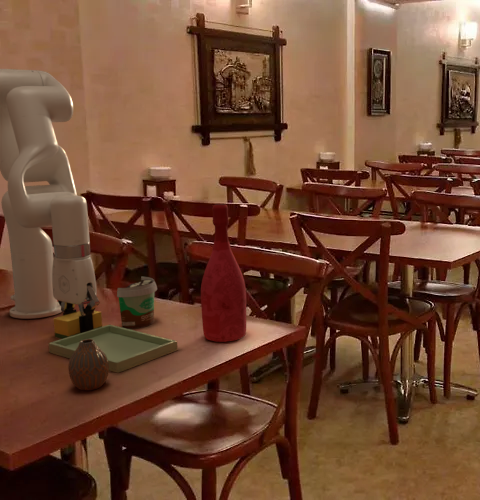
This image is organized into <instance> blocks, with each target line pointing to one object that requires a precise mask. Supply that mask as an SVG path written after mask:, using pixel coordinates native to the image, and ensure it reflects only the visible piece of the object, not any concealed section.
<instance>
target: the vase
mask: <svg viewBox="0 0 480 500" xmlns="http://www.w3.org/2000/svg"><path fill="white" fill-rule="evenodd" d="M109 372H110V370H109V363H108V359H107V357H106V355H105V353H104V352H103V351H102V350H101V349H100V348H99V347H98V346H97V345H96V343H95V342H94V340H93V339H84V340H81V341H80V343H79V345H78V347H77V349H76V350H75V351H74V353H73V354H72V356H71V358H70V359H69V362H68V375H69V379H70V381H71V383H72V384H73V386H74V387H76V388H77V389H79V390H80V391H92V390H97V389H100V388H101V387H102V386H103V385H104V384H105V383H106V381H107V379H108V376H109Z"/></svg>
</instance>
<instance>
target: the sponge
mask: <svg viewBox="0 0 480 500" xmlns="http://www.w3.org/2000/svg"><path fill="white" fill-rule="evenodd" d="M92 315H93V327H94V329H96V328H100V327H103V317H102V311H97V310H94V314H92ZM79 316H81V314H80V310H79V311H77V312H75V313H71V314H67V315H64V316H63V315H60V316H57V317H54V318H53V319H52V320H53V329H54V330H53V332H54V338H58V339H64V338H67V337H70V336H73V335H77V334H80V325H79Z"/></svg>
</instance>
